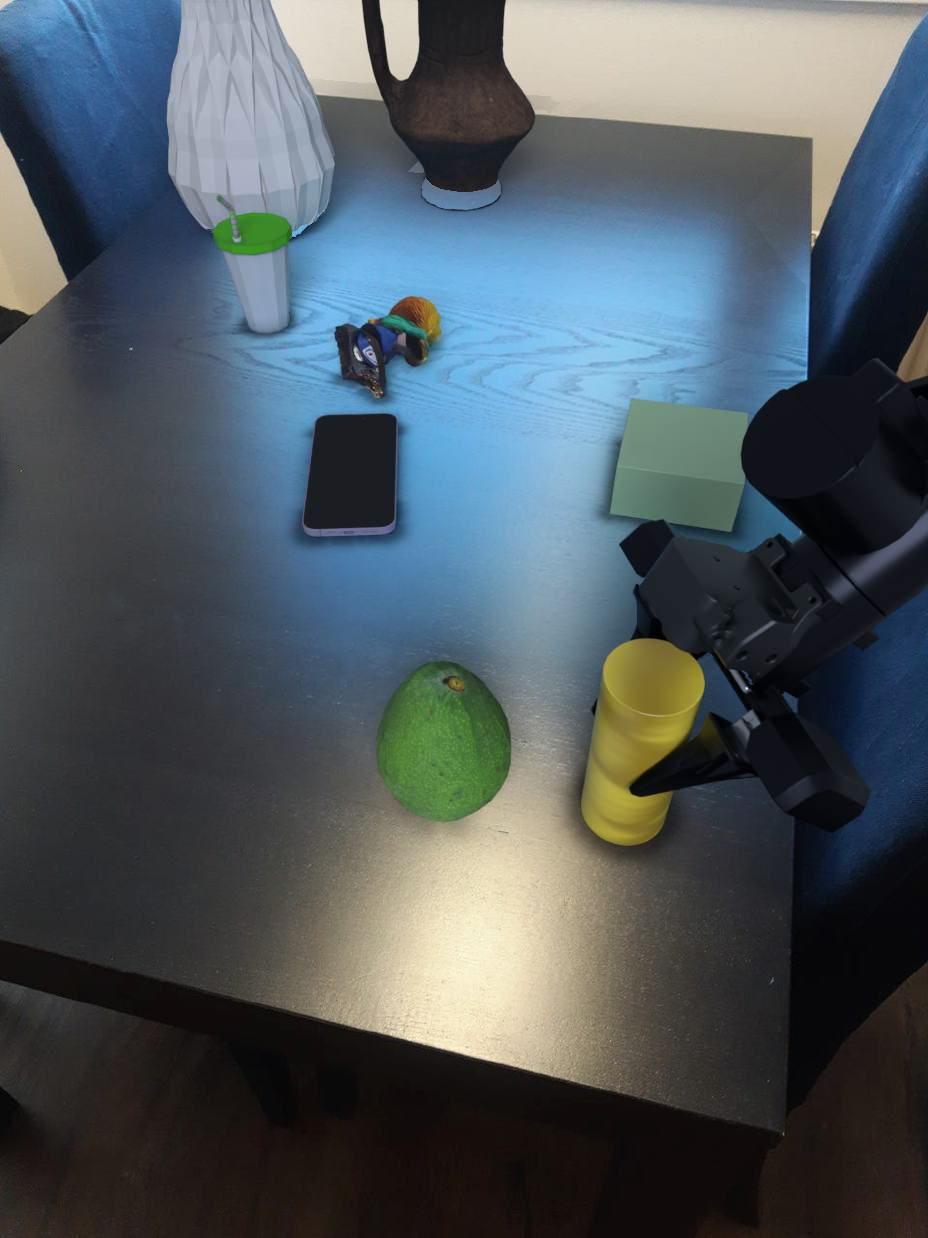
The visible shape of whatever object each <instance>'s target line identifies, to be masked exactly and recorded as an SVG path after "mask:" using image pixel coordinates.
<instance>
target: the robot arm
mask: <svg viewBox="0 0 928 1238" xmlns="http://www.w3.org/2000/svg"><path fill="white" fill-rule="evenodd" d="M741 464H742V469H743V471H744V474H745V480H746V481H747V482H748V483H749V485H750V486H751V487H752V488H753V489H755V490H756V492H758V493H759V494H760V495H761V496H762V497H763V498H764V499H766V500H767V502H769V503H770V504H771V505H772V506H773V507H775V509H776V510H778V511H779V513H781V514H782V515H783V516H784V517H785V518H787V519H788V521H790V522H791V523H792V524H793V525H794V526H795V527H796V528H797V529H798V530H799V531H801V534H800V535H799V536H798V537H796V538H795V539H794V540H793V541H792V542H791V541H790V540H788V539H787V538H786V537H785V536H784V535H783V534H781V532H778V533H777V534H776V535H775V536H773V537H767V538H766V539H765V540H763V541H762V542H761V543H760V544H758V545H757V546H756V547H754V548H752V549H749V550H747V551H746V552H745V551H740V550H738V549H737V548H735V547H734V546H730V545H727V544H723V543H719V542H713V541H707V540H702V539H698V538H692V537H688V536H687V535H685V534H684V533H683V532H682V531H680V530H679V529H677V528H676V527H675V526H674V525H673V524H672V523H668V522H667V521H665V520H664V519H661V520H656V521H655V520H650V521H646V522H642V523H640V524H639V525H637V527H635V528H633V530H632V531H631V532H630V533H628V535H626V536H625V537H624V538H623V539H622V540H621V541H620V542H619V543H618V546H619V549H621V551H622V553H623V554H624V556H625V558H626V559H627V561H628V562H629V564H630V566H631V568H632V569H633V571H634V572H635V574H636V575H637V576H639V577H640V578H642V581H641V582H640V583H635V584H634V586H633V588H632V596H633V597H634V599H635V603H636V604H635V605H636V609H635V610H636V616H635V617H636V620H635V621H636V623H635V628H634V630H633V632H632V635H631V637H630V639H629V641H631V640H635V639H643V638H651V639H659V640H664V641H667V642H670V643H671V644H672V645H674V646H675V647H676V648H678V649H680V650H682V651H684V652H687V653H689V654H691V655H692V656H693V657H694V658H695V660H696V661H697V662H698V660H700V659H701V658H703V657H704V656H707V654H709V653H710V655H711V656H712V658H713V660H714V662H715V663H716V664H717V666H718V668H719V669H720V671H721V672H722V674H723V675H724V677H725V678H726V680H727V682H728V683H729V685H730V687H731V688H732V690H733V692H734V693H735V695H736V697H738V699H739V701H740V702H741V704H742V705H743V707H744V709H745V711H746V713H745V714H743V715H742V716H741V717H740V718H738V719H737V720H736V721H735V722H732V721H729V720H728V719H726V718H724V717H723V716H720V715H719V714H716V713H715V712H713V711H709V712H708V713H707V715H706V717H705V719H704V722H703V724H702V726H701V729H700V731H699V733H698V734H697V735H696V736H695V737H693V738H691V740H690V739H689V742H688V743H686V744H685V745H683V746H682V747H680V748H679V749H677V750H676V751H675V752H673V753H672V754H670V755H669V756H667V757H666V758H665V759H663V760H662V761H660V762H659V763H657V764H656V765H654V766H653V767H652V768H650V769H649V770H647V771H646V772H645V773H644V774H642V775H641V776H640V777H639V778H638V779H637V780H636V781H635V782H634V783H633V784H632V785H631V786H630V787H629V791H630V793H631V794H632V795H634V796H637V797H646V796H651V795H655V794H660V793H665V792H669V791H673V792H674V791H679V790H684V789H687V788H692V787H698V786H702V785H707V784H712V783H716V782H717V783H718V782H725V781H733V780H734V781H735V780H743V779H745V780H746V779H753V778H754V779H755V778H759V779H760V781H761V784H762V785H763V786H764V789H766V792H767V793H768V795H769V796H770V798H771V800H772V801H773V802H774V803H775V804H776V805H777V806H778V808H780V809H781V810H782V812H783V813H784V814H786V815H789V816H791V817H792V818H793V817H794V818H795V819H798V820H800V821H803V822H805V823H807V824H810V825H812V826H814V827H817V828H818V829H821V830H824V831H826V832H828V833H830V834H833V833H835V832H837V831H838V830H840V829H842V828H844V827H845V826H847V825H848V824H849V823H851V822H853V821H854V820H856V819H857V818H859V817H860V816H862V814H863V812H864V811H865V809H866V807H867V805H868V802H869V799H870V797H871V793H872V790H871V788H870V787H869V785H868V784H867V782H866V781H865V779H864V777H863V776H862V775H861V774H860V772H859V771H858V769H857V768H856V767H855V765H854V764H853V762H852V761H851V760H850V758H849V757H848V755H847V754H846V752H845V751H844V749H843V748H842V747H841V744H839V742H838V741H837V739H836V738H835V737H834V734H832V733H830V732H828V731H827V730H825V729H824V728H822V727H820V726H818V725H817V724H815V723H813V722H811V721H810V720H808V719H806V718H805V717H803V716H802V715H800V714H798V713H797V712H795V711H794V710H793V708H792V707H791V706H790V704H789V703H788V701H787V700H786V699H785V697H784V695H783V694H785V693H787V694H788V695H789V696H791V697H793V698H794V699H796V700H797V699H799V698H800V697H801V696H803V695H804V694H805V693H807V692H809V691H810V690H811V689H813V686H812V685H811V683H810V682H809V680H808V678H807V677H808V676H809V675H810V674H811V675H812V673H814V672H815V671H816V670H818V669H819V668H821V667H822V666H823V665H824V664H826V663H827V662H828V661H830V660H831V659H833V658H834V657H835V656H837V655H838V654H840V653H841V652H843V651H844V650H845V649H847V648H848V647H850V646H851V645H852V644H853V645H854V646H856V647H857V648H858V649H860V650H861V651H865V650H866V649H867V648H870V647H871V646H873V645H874V644H875V643H876V642H878V641H879V640H880V639H881V638H880V637H879V635H878V634H877V633H876V632H875V630H874V628H875V627H876V626H878V625H879V624H880V623H882V622H883V621H885V620H886V619H888V617H890V616H891V615H893V614H894V613H895V612H897V611H898V610H899V609H901V608H903V606H905V605H906V604H907V603H909V602H910V601H911V600H913V599H914V598H916V597H917V596H918V595H920V594H921V593H922V592H924V591H925V590H927V589H928V375H924V376H921V377H918V378H915V379H912V380H909V381H908V380H907V381H904V380H903V379H902V378H901V377H900V376H899V375H898V374H897V373H895V372H894V371H893V370H892V369H890V367H888V366H887V365H886V364H885V363H884V362H883V361H882V360H880V359H879V358H878V357H877V358H872V359H870V360H869V361H868V362H866V363H865V364H864V365H863V366H862V367H860V369H858V370H857V371H856V372H855V373H854V374H853V375H851V376H846V375H838V374H828V375H819V376H814V377H811V378H808V379H806V380H802V381H799V382H797V383H796V384H794V385H792V386H790V387H788V388H787V389H786V388H781V389H779V390H778V391H776V393H774V394H773V395H772V396H770V398H768V399H767V400H766V401H765V403H764V404H762V406H760V407H759V409H758V410H757V412H756V413H755V415H754V416H753V418H752V419H751V421H750V422H749V423H748V428H747V431H746V433H745V436H744V438H743V442H742V448H741ZM746 674H747V675H746ZM749 679H750V680H751V681H750V680H749ZM751 683H752V684H751ZM597 701H598V697H597V698H596V700H595V701H594V703H593V704H592V706H591V709H590V711H591V714H592V715H593V716H594V717H595V714H596V708H597Z"/></svg>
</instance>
